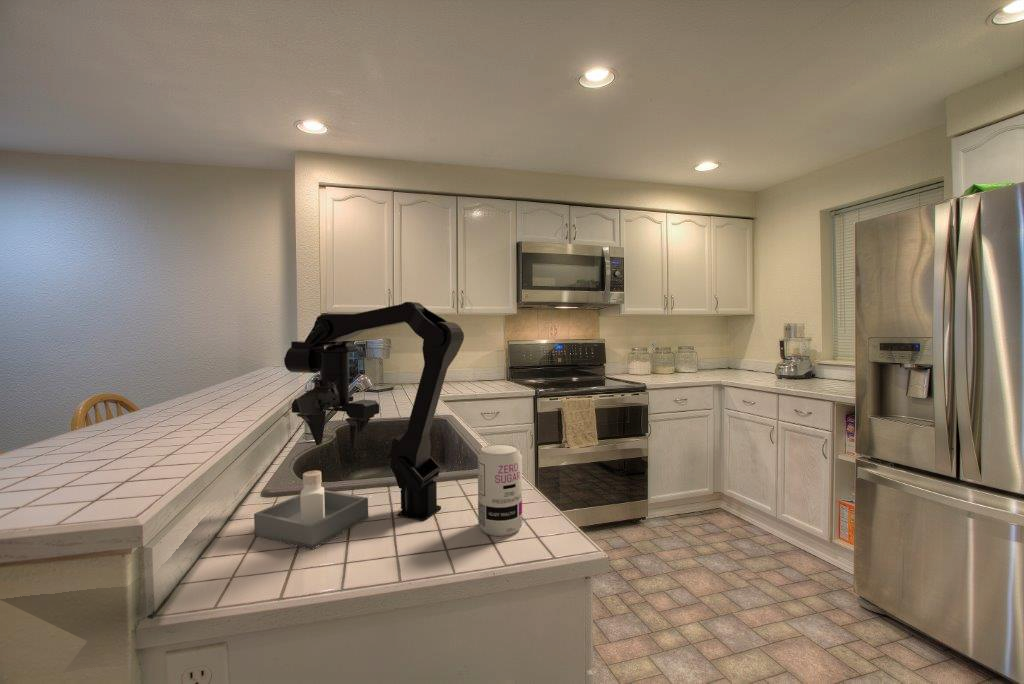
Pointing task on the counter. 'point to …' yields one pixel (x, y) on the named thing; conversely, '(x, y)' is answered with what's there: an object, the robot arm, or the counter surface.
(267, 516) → the bin
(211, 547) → the counter surface
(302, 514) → the salt shaker
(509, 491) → the supplement can
